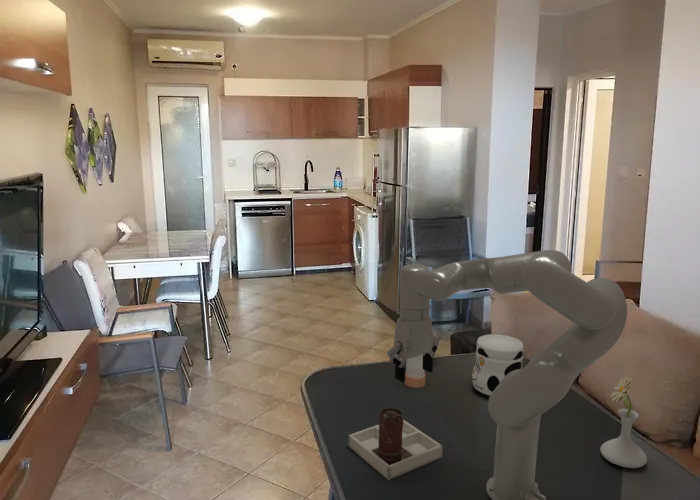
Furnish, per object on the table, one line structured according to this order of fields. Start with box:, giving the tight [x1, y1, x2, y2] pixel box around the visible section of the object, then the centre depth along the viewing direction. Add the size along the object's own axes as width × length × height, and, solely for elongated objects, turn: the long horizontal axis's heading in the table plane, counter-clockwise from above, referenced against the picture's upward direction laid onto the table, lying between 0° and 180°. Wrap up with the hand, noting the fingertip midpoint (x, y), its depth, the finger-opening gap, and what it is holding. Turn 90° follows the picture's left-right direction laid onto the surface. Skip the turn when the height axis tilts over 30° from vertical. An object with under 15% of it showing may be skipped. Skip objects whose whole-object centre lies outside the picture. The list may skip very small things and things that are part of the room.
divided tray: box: [347, 419, 443, 481], centre depth 148 cm, size 18×18×4 cm
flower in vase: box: [599, 376, 648, 469], centre depth 143 cm, size 13×11×25 cm
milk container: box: [471, 333, 525, 398], centre depth 184 cm, size 17×17×18 cm
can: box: [378, 408, 404, 465], centre depth 141 cm, size 6×6×14 cm
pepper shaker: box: [404, 354, 426, 389], centre depth 189 cm, size 7×7×19 cm
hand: (414, 375), depth 141 cm, fingers open, 9 cm apart
